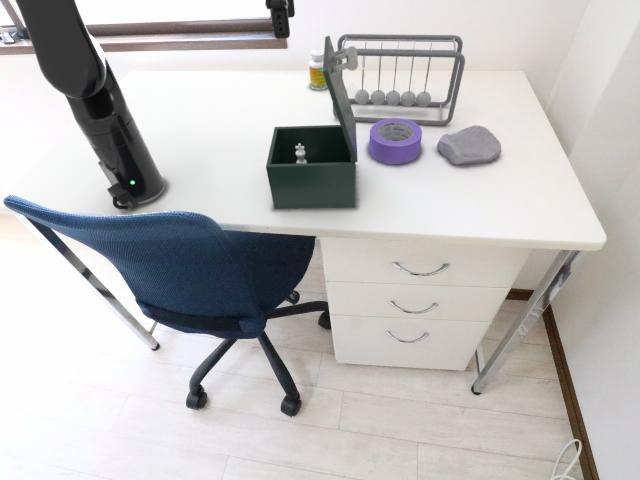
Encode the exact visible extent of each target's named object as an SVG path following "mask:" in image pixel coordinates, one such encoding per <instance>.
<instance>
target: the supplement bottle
mask: <svg viewBox="0 0 640 480" xmlns="http://www.w3.org/2000/svg"><path fill="white" fill-rule="evenodd" d="M310 58H311V59H310V61H308V65H309V76H310V77H309V78H310V87H311V89H313V90H316V91H318V90H319V91H322V90H326V89H328V87H327V84H326V81H325V78H324V75H323V60H324V49H314V50H312V51H311V52H310Z"/></svg>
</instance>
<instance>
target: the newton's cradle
mask: <svg viewBox="0 0 640 480" xmlns="http://www.w3.org/2000/svg"><path fill="white" fill-rule="evenodd" d="M346 42H364V47H363V48H357V47H355V48H356V49H357V56H359V57H362V63H363V67H365V64H366V57H395V66H394V67H395V68H394V79H393V87H395V84H396V74H397V64H398V57H402V58H403V57H407V58H408V57H409V58H412V61H411V69H410V78H409V87H408V90H406V91H404V92H403V93H402V94H400V93H399V91H397V90H395V88H393V90H390V91H388V92H387V93H385V92H384V91H383V90H381V89H380V81H381V80H380V79H381V68H382V67H381V66H382V58H379V60H378V62H379V63H378V64H379V65H378V85H377V86H378V87H377V89H375V90H374V91H373V92H372V93H371V95H370V94H369V92H368V90H366V89H364V77H365V70H362V73H361V75H362V76H361V77H362V79H361V89H358V90H357V91H356V92H355V93H354V98H350V97H348V98H349V101H350V104H358V105H365V104H366V105H367V104H370V105H372V104H373V105H375V106H382V105H389V106H391V107H395V106H404V107H411V106H416V107H420V108H426V107H438V108H439V113H440V114H439V115H440V116H439V117H440V118H439V119H440V120H436V119H435V120H432V119H412V118H406V119H407V120H410V121H413V122H415V123H416V124H418V125H421V126H422V125H423V126H424V125H425V126H446V125H448V124H450V123H451V121H452V120H453V117H454V113H455V107H456V105H457V99H458V97H459V91H460V87H461V82H462V77H463V73H464V69H465V65H466V58H465V56H464V55H463V53H462V51H463V47H464V45H463V44H464V42H463V39H462V38H461V36H458V35H455V34H380V33H379V34H377V33H375V34H370V33H365V34H364V33H361V34H360V33H346V34H342V35H340V37H339V38H338V40H337V50H336V51H334V52H335V55H339V54H342V53H345V52H346V51H347V49H348V48H349V47H347V48H346V47H345V45H346ZM367 42H381V43H380V48H367ZM383 42H397V45H399V44H400V42H412V43H413V42H414V44H413V45H414V46H413V48H411V49H409V48H399V46H397V48H383ZM416 42H422V43H423V42H424V43H428V42H429V43H430V48H429V49H416ZM433 43H453V49H432V47H433ZM456 43H457V45H456ZM456 46H457V47H456ZM415 58H428V61H427V62H428V63H427V68H426V69H427V71H426V76H425V77H426V78H425V84H424V91H421V92H419V93H418V94H417V95H416V94H415V93H414V91H412V90H411V81H412V74H413V68H414V59H415ZM432 58H451V59H453V58H454V61H453V65H452V66H453V67H452V72H451V76H450V81H449V86H448V91H447V95H446V99H445V100H444V101H432V95H431V94H430V93H429V92H428V91H426V89H427V83H428V78H429V72H430V66H431V59H432ZM337 62H338V65H340V64H343V59H342V60H339V61H337ZM340 72H341V75H342V76H343V70H341V71H340ZM449 104H450V106H449V110H448V114H447V118H445V120H443V107H446V106H447V105H449ZM332 114H333V117H334V118H335V119H336V120H338V121H339V119H338V116H337V113H336V110H335V107H334V104H333V103H332ZM354 118H355V121H356V122H363V123H364V122H365V123H366V122H367V123H376V122H378V121H381V120H384V119H389V118H390V117H370V116H369V117H368V116H354Z"/></svg>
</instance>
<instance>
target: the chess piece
mask: <svg viewBox="0 0 640 480" xmlns="http://www.w3.org/2000/svg"><path fill="white" fill-rule="evenodd" d="M295 148H296V149H299V150H297V151H296V153H295V154H296V156H297V158H298V160H297V162H296V164H297V163H307V161H306V160H305V159H304V156H305V151H304V150H301V149H304V146H301V143H299V144H298V146H296V147H295Z"/></svg>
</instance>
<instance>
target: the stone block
mask: <svg viewBox="0 0 640 480" xmlns="http://www.w3.org/2000/svg"><path fill="white" fill-rule="evenodd" d="M501 144H502V143H501V142H500V140H499V139H498V138H497V137H496V135H495V134H494V133H492V132H491V131H490V130H489V129H488V128H487V127H485V126H482V125H478V124H477V125H471V126H468V127H465V128H463V129H461V130H459V131H458V132H455V133H451V134H449V133H445V134H442V135H441V137H440V138H439V140H438V142H437V145H436V146H437V150H438V152H439V153H441V155H442V156H443V157H445V158H446V159H448V161H450V163H451V164H453V165H456V166H457V165H458V166H459V165H468V164H481V163H488V162H492V161H493V160H495V159H496V158H497V157H499V156H500V155H501V153H502V145H501Z"/></svg>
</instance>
